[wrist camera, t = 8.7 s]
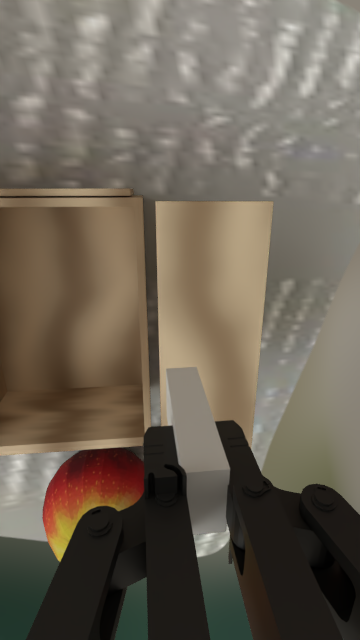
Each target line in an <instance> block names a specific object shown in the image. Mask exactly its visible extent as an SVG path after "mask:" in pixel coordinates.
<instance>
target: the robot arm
mask: <svg viewBox="0 0 360 640" xmlns="http://www.w3.org/2000/svg"><path fill="white" fill-rule="evenodd" d="M166 401H167V421H168V426H157V427H148V429H147V431H146V432H145V434H144V492H143V494H142V496H141V497H140V499H139V500H138V501H137V502H136V503H134V504H133V505H131V506H130V507H128V508H125V509H123V510H120V511H117V510H116V509H115V508H113V507H110V506H97V507H95V508H92V509H90V510H89V511H87V512H86V513H85V514H83V515H82V517H81V518H80V520H79V521H78V523H77V525H76V527H75V530H74V532H73V534H72V536H71V539H70V541H69V543H68V546H67V548H66V550H65V552H64V555H63V557H62V559H61V561H60V564H59V566H58V569H57V571H56V573H55V575H54V577H53V580H52V582H51V584H50V586H49V589H48V591H47V593H46V596H45V598H44V600H43V602H42V605H41V607H40V609H39V611H38V614H37V616H36V618H35V620H34V623H33V625H32V627H31V629H30V632H29V634H28V636H27V639H26V640H114V639H115V634H116V631H117V627H118V623H119V618H120V614H121V610H122V606H123V602H124V598H125V594H126V590H127V586H129V585H131V584H133V583H135V582H137V581H139V580H141V579H143V578H145V577H147V604H148V605H147V607H148V640H210V635H209V629H208V623H207V617H206V611H205V605H204V598H203V592H202V586H201V580H200V574H199V568H198V562H197V556H196V549H195V543H194V537H193V535H198V534H207V533H216V532H225V531H226V524H228V528H229V531H230V542H229V556H228V557H229V564H232V558H233V561H234V566H235V570H236V573H237V577H238V581H239V585H240V589H241V593H242V597H243V601H244V605H245V609H246V613H247V617H248V621H249V625H250V629H251V632H252V636H253V640H343V639H344V640H360V515H359V514H358V513H357V512H356V511H355V510H354V509H353V508H352V506H351V505H349V503H348V502H347V501H346V500H345V499H344V498H343V497H342V496H341V495H340V494H339V493H337V492H336V491H335V490H333V489H332V488H330V487H327V486H325V485H320V484H312V485H308V486H306V487H305V488H304V489H303V491H302V493H301V494H300V493H293V492H289V491H284V490H281V489H278V488H276V487H274V486H273V485H272V483H271V482H270V481H269V480H268V479H267V478H265V477H264V476H263V475H262V474H261V471H260V469H259V467H258V464H257V462H256V460H255V458H254V455H253V453H252V451H251V448H250V446H249V444H248V441H247V439H246V437H245V435H244V432H243V430H242V428H241V427H240V426H239V425H238V424H237V423H236V422H235V421H234V420H227V421H214V418H213V415H212V412H211V409H210V406H209V403H208V400H207V397H206V394H205V391H204V388H203V385H202V382H201V379H200V376H199V373H198V370H197V367H186V368H168V369H166ZM342 637H343V638H342Z"/></svg>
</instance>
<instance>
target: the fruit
mask: <svg viewBox="0 0 360 640" xmlns="http://www.w3.org/2000/svg"><path fill="white" fill-rule="evenodd" d="M143 492H144V462H143V461H142V460H141V459H140V458H138V457H137V456H136V455H135V454H134V453H133V452H131V451H129V450H126V449H124V448H122V447H118V448H103V449H88V450H82V451H80V452H78V453H76V454H75V455H73V456H72V457H71V458H69V459H68V460H67V461H66V462H64V463H63V464H62V465H61V467H60V468H59V470H58V471H57V473H56V474H55V476H54V477H53V479H52V480H51V482H50V483H49V486H48V488H47V491H46V496H45V501H44V506H43V522H44V527H45V531H46V535H47V539H48V542H49V544H50V546H51V548H52V550H53V552H54V554H55V555H56V557H57V559H58V560H59V561H61V559H62V557H63V555H64V552H65V550H66V548H67V546H68V543H69V541H70V539H71V536H72V534H73V532H74V530H75V527H76V525H77V523H78V521H79V520H80V518H81V517H82V515H83V514H85V513H86V512H87V511H89V510H90V509H92V508H95V507H97V506H110V507H113V508H115V509H116V510H117V511H120V510H123V509H125V508H128V507H130V506H131V505H133V504H134V503H136V502H137V501H138V500H139V499H140V497H141V496H142V494H143Z"/></svg>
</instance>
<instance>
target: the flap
mask: <svg viewBox="0 0 360 640" xmlns="http://www.w3.org/2000/svg"><path fill="white" fill-rule="evenodd" d="M155 204H156V244H157V284H158V324H159V364H160V404H161V426H168V421H167V401H166V369H168V368H186V367H197V370H198V373H199V376H200V379H201V382H202V385H203V388H204V391H205V394H206V397H207V400H208V403H209V406H210V409H211V412H212V415H213V418H214V421H227V420H234V421H235V422H236V423H237V424H238V425H239V426H240V427H241V428H242V430H243V432H244V435H245V437H246V439H247V441H248V444H249V446H250V448H251V445H252V434H253V423H254V412H255V401H256V390H257V379H258V368H259V357H260V346H261V335H262V323H263V312H264V301H265V290H266V279H267V268H268V257H269V246H270V235H271V224H272V213H273V201H155Z"/></svg>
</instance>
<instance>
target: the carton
mask: <svg viewBox="0 0 360 640" xmlns="http://www.w3.org/2000/svg"><path fill="white" fill-rule="evenodd" d="M133 194H134V192H133V189H0V456H1V455H15V454H30V453H45V452H59V451H74V450H88V449H103V448H118V447H132V446H143V442H144V434H145V432H146V431H147V429H148V427H151V405H150V375H149V348H148V321H147V294H146V267H145V240H144V213H143V195H133Z"/></svg>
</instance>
